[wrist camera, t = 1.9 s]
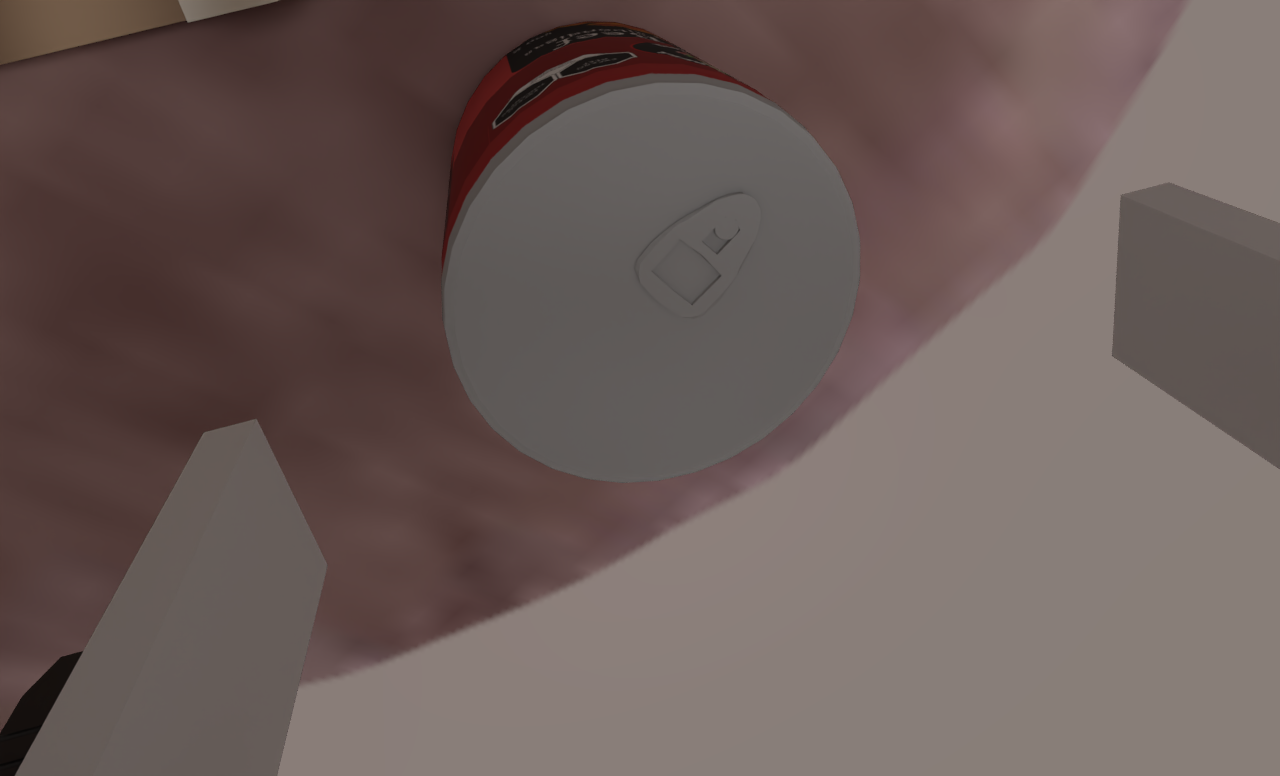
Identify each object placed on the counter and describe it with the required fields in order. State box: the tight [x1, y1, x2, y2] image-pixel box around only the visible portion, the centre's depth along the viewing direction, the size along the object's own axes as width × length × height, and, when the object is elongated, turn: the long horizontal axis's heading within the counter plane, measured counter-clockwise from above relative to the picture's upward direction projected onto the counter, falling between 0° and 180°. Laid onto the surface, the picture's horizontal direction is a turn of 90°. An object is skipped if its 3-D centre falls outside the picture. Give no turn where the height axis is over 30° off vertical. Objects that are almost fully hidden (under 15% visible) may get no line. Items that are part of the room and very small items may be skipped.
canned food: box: [441, 22, 860, 483], centre depth 21 cm, size 8×8×11 cm
